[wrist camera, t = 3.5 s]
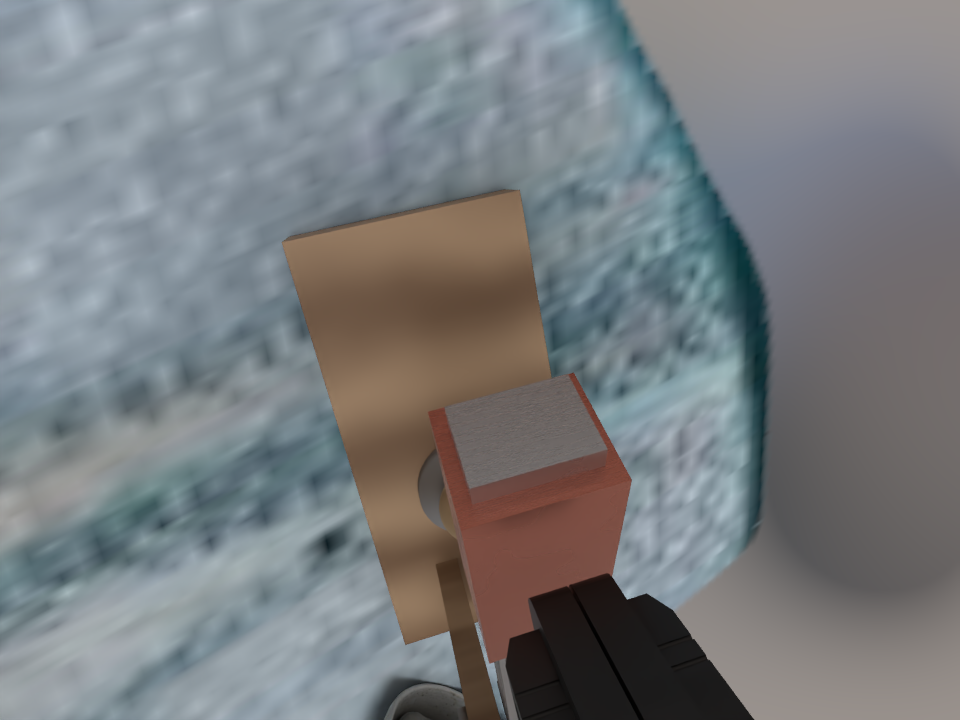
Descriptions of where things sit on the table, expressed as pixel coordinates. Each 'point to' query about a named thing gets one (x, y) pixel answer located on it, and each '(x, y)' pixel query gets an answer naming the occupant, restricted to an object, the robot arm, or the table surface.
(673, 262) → the table surface
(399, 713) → the ceramic mug
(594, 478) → the lever
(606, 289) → the table surface
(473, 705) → the base
